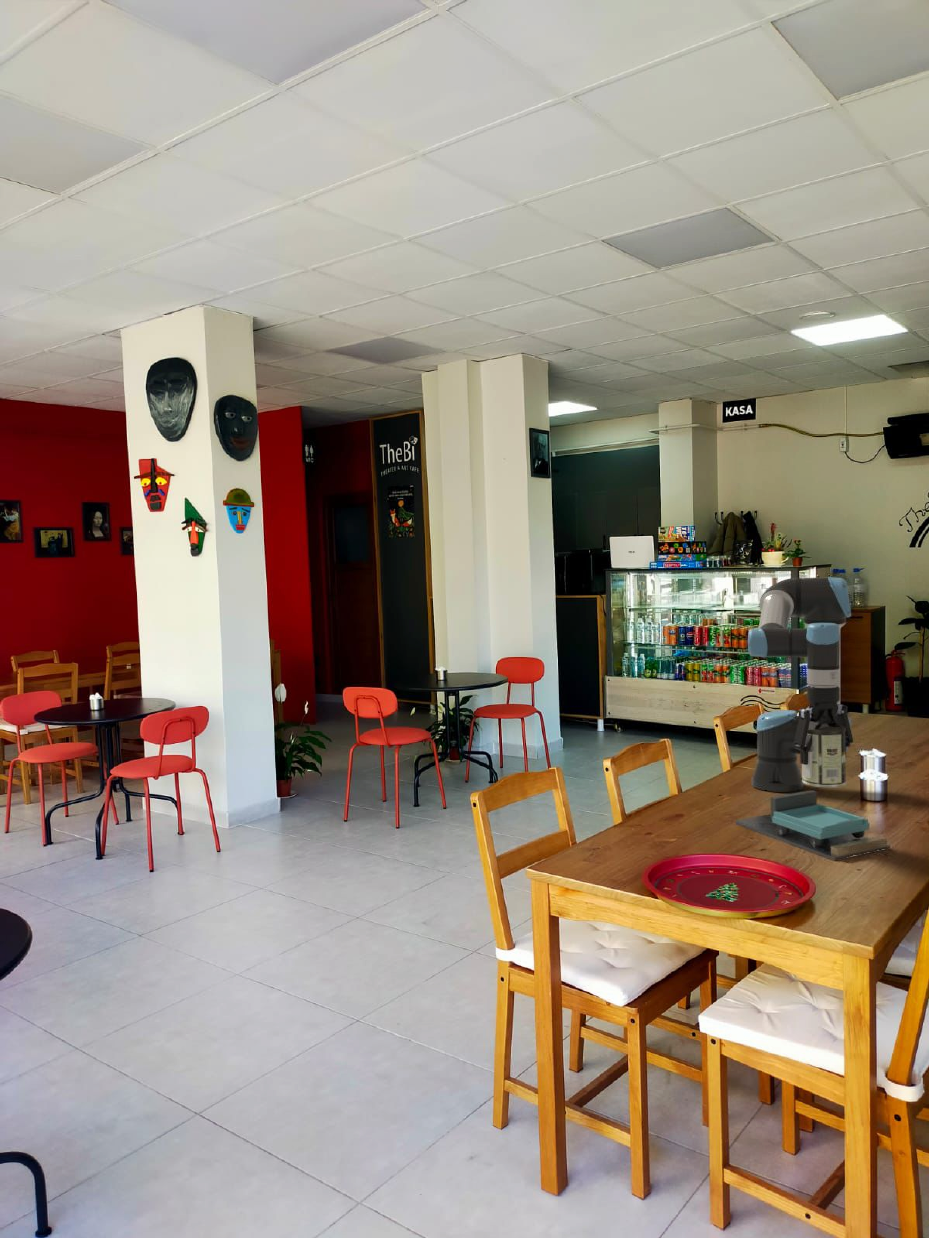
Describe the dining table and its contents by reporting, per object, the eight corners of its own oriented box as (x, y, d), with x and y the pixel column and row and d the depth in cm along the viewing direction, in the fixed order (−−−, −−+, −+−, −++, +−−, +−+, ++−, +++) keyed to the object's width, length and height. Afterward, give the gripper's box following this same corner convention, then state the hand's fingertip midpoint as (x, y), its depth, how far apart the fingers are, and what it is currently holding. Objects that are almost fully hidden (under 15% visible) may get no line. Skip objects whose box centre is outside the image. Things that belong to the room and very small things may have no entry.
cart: (767, 830, 229) (767, 797, 228) (815, 821, 235) (814, 789, 234) (820, 849, 213) (820, 814, 212) (869, 839, 219) (869, 805, 218)
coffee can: (821, 775, 228) (821, 721, 227) (855, 784, 219) (855, 727, 218) (792, 781, 223) (792, 725, 222) (826, 790, 214) (825, 732, 213)
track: (735, 823, 239) (735, 813, 238) (786, 814, 246) (786, 804, 246) (834, 860, 207) (834, 849, 207) (890, 848, 215) (890, 837, 214)
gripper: (799, 691, 212) (800, 783, 213) (869, 683, 221) (869, 772, 222) (776, 687, 218) (777, 776, 220) (845, 680, 227) (845, 766, 229)
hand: (823, 774), depth 221 cm, fingers closed on coffee can, 10 cm apart
